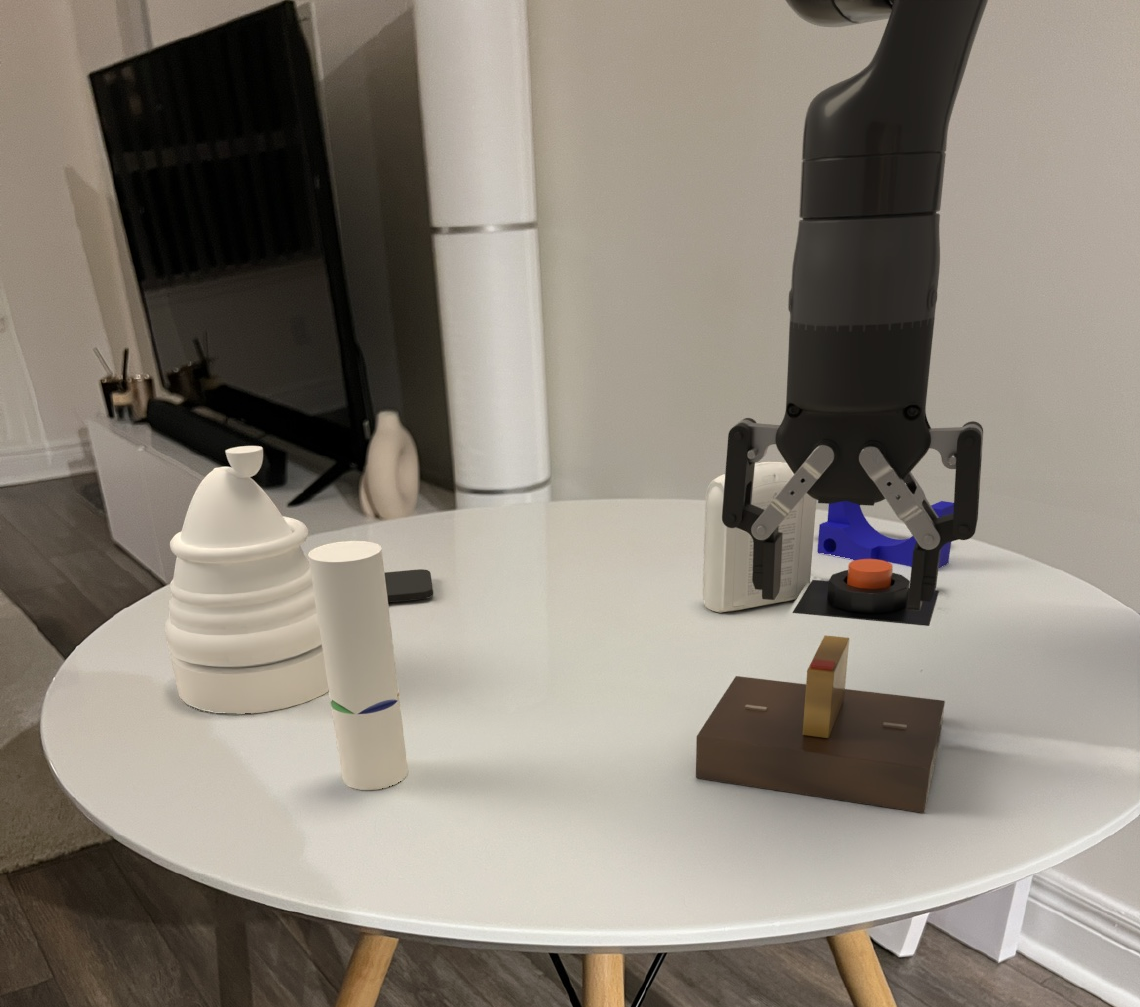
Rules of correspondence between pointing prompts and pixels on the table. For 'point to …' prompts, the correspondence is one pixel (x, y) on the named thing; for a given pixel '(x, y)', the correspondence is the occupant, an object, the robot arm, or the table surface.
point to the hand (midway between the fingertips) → (840, 601)
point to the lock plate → (823, 744)
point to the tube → (359, 662)
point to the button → (869, 573)
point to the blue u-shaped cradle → (869, 536)
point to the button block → (864, 601)
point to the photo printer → (734, 547)
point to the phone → (408, 585)
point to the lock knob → (825, 686)
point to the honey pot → (242, 599)
